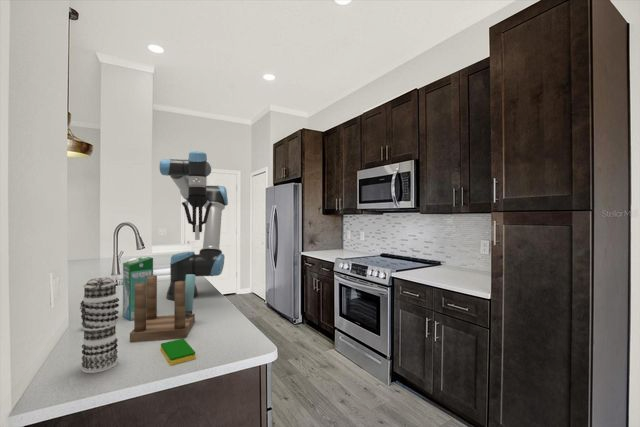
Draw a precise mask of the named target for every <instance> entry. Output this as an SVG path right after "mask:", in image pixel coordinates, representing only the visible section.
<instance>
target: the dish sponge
mask: <svg viewBox="0 0 640 427" xmlns="http://www.w3.org/2000/svg"><path fill="white" fill-rule="evenodd" d="M160 351H161V353H162V354H163V356H164V357H165V359H166V360H167V363H168V364H169V365H170V366H174V365H178V364H181V363H185V362H189V361H192V360H196V351H195V350H194V348H192V346H191V345H190V344H189V343H188V341H186V339H185V338H178V339H173V340H169V341H166V342H161V343H160Z"/></svg>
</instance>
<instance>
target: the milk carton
mask: <svg viewBox="0 0 640 427" xmlns="http://www.w3.org/2000/svg"><path fill="white" fill-rule="evenodd" d="M152 275H154V257H150V256H146V255H145V256H141V257H134V258H130V259H128V260H127V261H126V262H123V264H122V316H123V317H124V318H125V319H127V320H129V321H130V322H131V321H134V300H135V283H140V282H145V283H146V295H147V276H152Z"/></svg>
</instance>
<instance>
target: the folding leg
mask: <svg viewBox="0 0 640 427" xmlns="http://www.w3.org/2000/svg"><path fill="white" fill-rule="evenodd" d="M196 277H197V276H196V275H194V274H187V275H186V280H185V281H186V283H185V311H192V312H193V310H194V308H193V307H194V306H193V305H194V299H195V297H194V287H195V285H196Z"/></svg>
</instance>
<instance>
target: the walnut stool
mask: <svg viewBox="0 0 640 427" xmlns="http://www.w3.org/2000/svg"><path fill="white" fill-rule="evenodd" d="M185 283H186V281H176V282H175V300H174V309H173V310H174V313H173V314H167V315H158V310H157V309H158V276H157V275H154V274H153V275H152V276H147V295H146V283H145V282H140V283H135V300H134V320H133V322H134V327H133V328H134V329H132V330H131V332H129V343H134V342H135V343H137V342H149V341H163V340H178V339H187V337H188V335H189V333H190V331H191V329H192V327H193V325H194V323H195V322H196V321H195V320H196V317H195V313H193V310H192V311H185Z"/></svg>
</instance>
